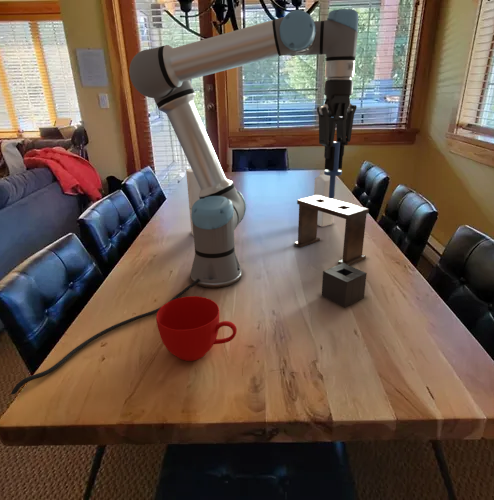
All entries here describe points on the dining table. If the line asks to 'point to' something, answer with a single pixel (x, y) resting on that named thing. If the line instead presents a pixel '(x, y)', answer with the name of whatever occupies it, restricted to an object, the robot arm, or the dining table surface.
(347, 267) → the holder
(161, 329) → the ceramic cup
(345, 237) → the stand
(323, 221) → the milk
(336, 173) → the peg
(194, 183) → the cylindrical container
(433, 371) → the dining table surface
